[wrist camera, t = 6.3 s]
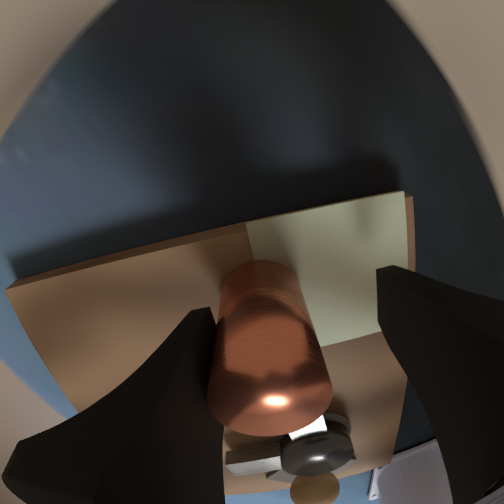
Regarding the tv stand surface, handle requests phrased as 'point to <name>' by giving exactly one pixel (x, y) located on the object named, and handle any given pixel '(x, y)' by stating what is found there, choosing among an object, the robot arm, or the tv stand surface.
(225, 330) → the lever
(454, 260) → the tv stand surface
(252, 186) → the tv stand surface
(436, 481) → the robot arm
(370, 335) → the light wood flat board
